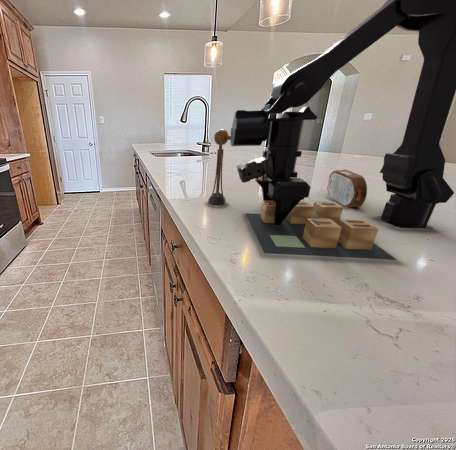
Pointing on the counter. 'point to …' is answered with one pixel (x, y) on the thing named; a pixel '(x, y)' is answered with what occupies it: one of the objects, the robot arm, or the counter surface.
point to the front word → (340, 233)
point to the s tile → (267, 211)
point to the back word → (315, 212)
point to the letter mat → (302, 241)
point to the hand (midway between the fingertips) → (271, 216)
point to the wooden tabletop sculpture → (219, 168)
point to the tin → (347, 188)
